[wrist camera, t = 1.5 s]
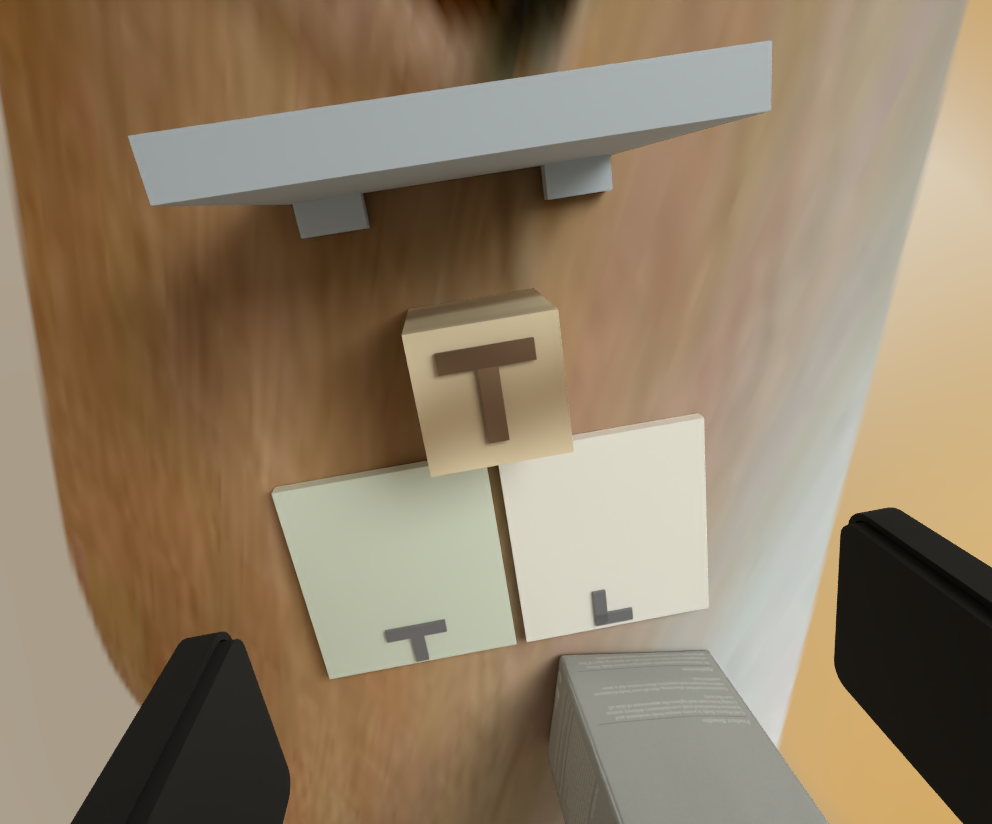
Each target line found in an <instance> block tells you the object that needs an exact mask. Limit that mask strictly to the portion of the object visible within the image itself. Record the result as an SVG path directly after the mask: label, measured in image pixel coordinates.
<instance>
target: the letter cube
mask: <svg viewBox="0 0 992 824" xmlns="http://www.w3.org/2000/svg"><path fill="white" fill-rule="evenodd" d="M402 340H403V345H404V350H405V354H406V359H407V364H408V369H409V374H410V379H411V383H412V388H413V393H414V398H415V403H416V408H417V412H418V417H419V422H420V427H421V432H422V436H423V441H424V446H425V451H426V456H427V461H428V465H429V470H430V475H431V477H435V476H440V475H446V474H452V473H457V472H463V471H469V470H474V469H480V468H486V467H491V466H497V465H503V464H508V463H514V462H520V461H525V460H531V459H537V458H542V457H548V456H554V455H559V454H565V453H571V452H574V448H573V439H572V430H571V421H570V412H569V403H568V394H567V385H566V376H565V367H564V358H563V350H562V341H561V332H560V323H559V314H558V309H557V308H556V307H555V306H554V305H553V304H551V303H550V302H549V301H548V300H547V299H546V298H544V297H543V296H542V295H541V294H540V293H539V292H537V291H536V290H535V289H534V288H532V289H526V290H520V291H514V292H508V293H502V294H496V295H489V296H483V297H477V298H471V299H465V300H459V301H453V302H447V303H441V304H435V305H429V306H423V307H417V308H411V309H408V312H407V316H406V320H405V324H404V328H403V331H402Z"/></svg>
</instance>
